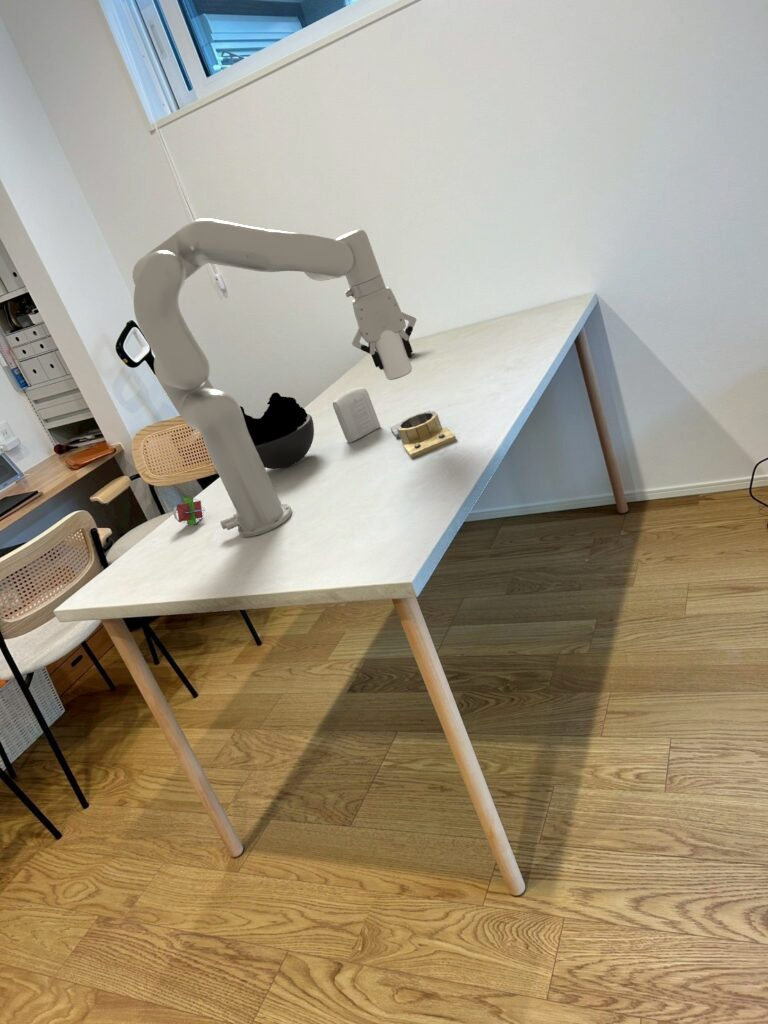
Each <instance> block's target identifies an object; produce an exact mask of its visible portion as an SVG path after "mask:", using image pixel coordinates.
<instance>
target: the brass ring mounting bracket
mask: <svg viewBox="0 0 768 1024" xmlns="http://www.w3.org/2000/svg"><path fill="white" fill-rule="evenodd" d="M389 428H390V431H391V433H392V434H393V435H394V437H395V438H396V439H397V440H398V439H400V441H401V443H402V444H403V445H402V446H403V449H404V450H405V452H406V453H407V454H408V456H409V457H410V459H411V460H414V459H416V458H418V457H421V456H422V455H425V454H427V453H430V452H433V451H434V450H437V449H441V448H443V447H445V446H447V445H450V444H453V443H454V442H457V441H458V440H457V438H456V435H455V434H454V433H453V432H452V431H451V430H450V429H449V428H448V427H447V426H446V427H444V428H443V427H442V423H441V421H440V419H439V415H438V413H437V412H436V411H434V410H433V411H430V410H428V411H424V412H423V411H422V412H420V413H416V414H414V415H411V416H409V417H406V418H405V419H403V420H402V421H400V422H399V423H396V424H394V425H392V426H389ZM413 458H414V459H413Z"/></svg>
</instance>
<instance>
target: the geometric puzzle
mask: <svg viewBox="0 0 768 1024" xmlns="http://www.w3.org/2000/svg"><path fill="white" fill-rule="evenodd" d="M172 512H173V517H174V519H175V520H176V521H177V522H179V523H182V524H184V525H185V522H186V525H187V524H188V525H187V526H197V525H198V522H200V520H201V519H203V518H204V514H205V513H204V512H206V509H205V507H204V506H202V502H201V500H199V499H196V498H195V497H193V496H192V497H182V498H181V502H179V504H176V505H174V507H173V511H172ZM202 517H203V518H202ZM200 518H201V519H200ZM191 524H193V525H191ZM194 524H195V525H194Z"/></svg>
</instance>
